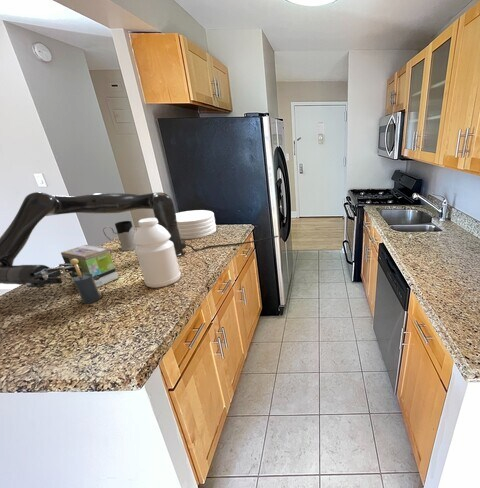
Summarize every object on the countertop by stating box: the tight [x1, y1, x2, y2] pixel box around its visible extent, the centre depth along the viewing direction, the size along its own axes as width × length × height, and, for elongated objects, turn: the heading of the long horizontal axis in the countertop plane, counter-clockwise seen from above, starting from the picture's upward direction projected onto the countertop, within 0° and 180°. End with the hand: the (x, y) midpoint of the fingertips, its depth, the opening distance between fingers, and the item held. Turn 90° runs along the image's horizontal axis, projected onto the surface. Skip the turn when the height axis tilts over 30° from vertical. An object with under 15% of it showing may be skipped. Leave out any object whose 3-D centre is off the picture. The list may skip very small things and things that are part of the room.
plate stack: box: [175, 209, 217, 240], centre depth 174 cm, size 28×28×12 cm
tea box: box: [60, 244, 119, 288], centre depth 112 cm, size 15×10×15 cm, turn 71°
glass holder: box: [102, 220, 138, 251], centre depth 146 cm, size 9×14×15 cm, turn 116°
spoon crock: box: [70, 259, 101, 304], centre depth 98 cm, size 5×5×18 cm
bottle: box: [133, 217, 182, 289], centre depth 110 cm, size 14×14×28 cm
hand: (71, 274), depth 97 cm, fingers open, 8 cm apart
